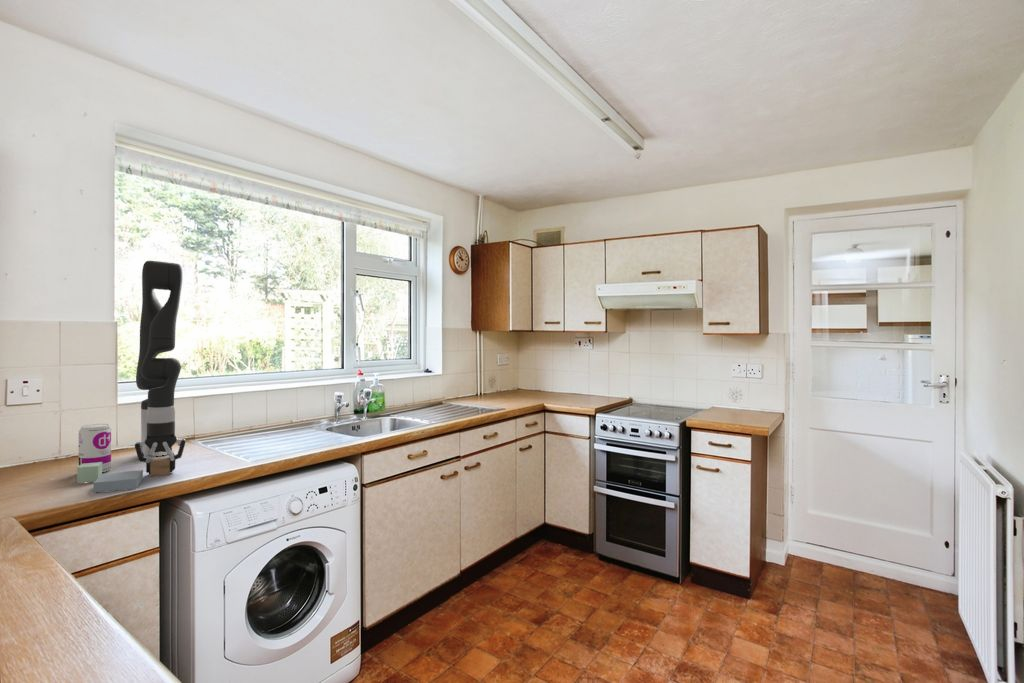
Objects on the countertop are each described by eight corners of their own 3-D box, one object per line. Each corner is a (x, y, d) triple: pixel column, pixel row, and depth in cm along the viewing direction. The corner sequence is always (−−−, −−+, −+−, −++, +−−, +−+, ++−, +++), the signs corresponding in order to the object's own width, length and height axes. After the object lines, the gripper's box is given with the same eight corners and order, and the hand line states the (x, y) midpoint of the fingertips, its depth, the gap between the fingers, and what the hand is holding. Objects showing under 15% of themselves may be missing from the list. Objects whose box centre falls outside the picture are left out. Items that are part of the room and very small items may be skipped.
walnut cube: (152, 472, 166) (152, 457, 166) (171, 471, 169) (171, 456, 169) (150, 477, 162) (150, 461, 162) (169, 475, 164) (169, 459, 164)
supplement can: (117, 470, 169) (117, 424, 168) (89, 476, 161) (89, 429, 161) (100, 467, 171) (100, 422, 171) (72, 473, 164) (72, 426, 163)
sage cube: (81, 479, 158) (81, 463, 158) (102, 477, 160) (102, 462, 160) (77, 484, 154) (77, 467, 153) (98, 482, 156) (98, 465, 156)
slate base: (102, 483, 154) (102, 473, 154) (142, 479, 159) (142, 470, 159) (93, 493, 145) (93, 482, 145) (136, 488, 150) (136, 478, 150)
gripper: (188, 416, 171) (188, 467, 172) (135, 419, 165) (135, 472, 165) (186, 420, 165) (185, 473, 165) (131, 423, 158) (131, 478, 159)
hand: (160, 472), depth 165 cm, fingers closed on walnut cube, 5 cm apart
